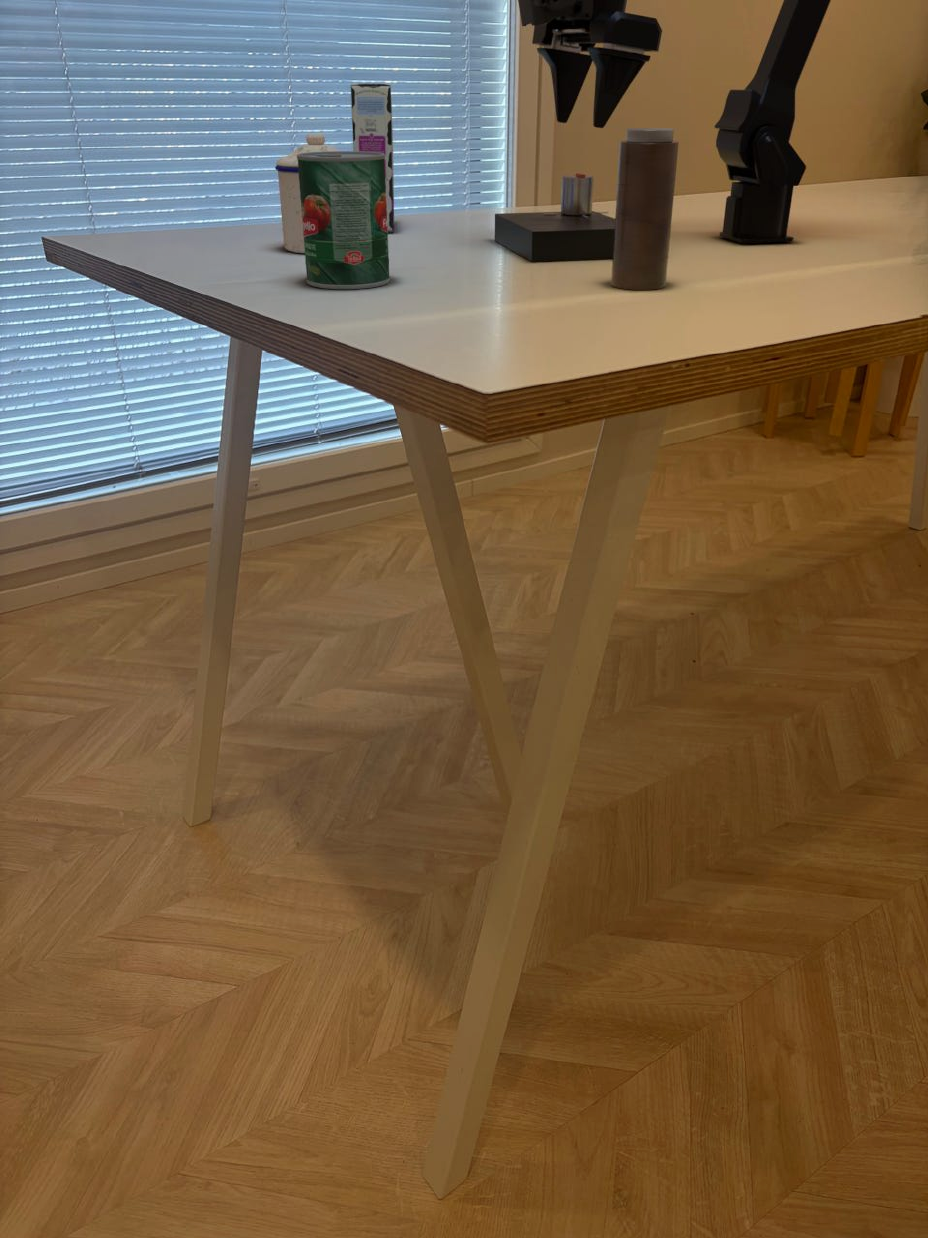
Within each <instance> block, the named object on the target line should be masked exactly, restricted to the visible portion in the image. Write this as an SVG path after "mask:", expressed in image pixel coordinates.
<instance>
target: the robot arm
mask: <svg viewBox="0 0 928 1238" xmlns="http://www.w3.org/2000/svg"><path fill="white" fill-rule="evenodd" d="M831 1H832V0H783V1H782V5H781V7H780V10H779V12H778V15H777V17H776V19H775V23H774V25H773V27H772V31H771V33H770V35H769V38H768V41H767V43H766V46H765V48H764V51H763V54H762V56H761V59H760V61H759V63H758V67H757V69H756V71H755V74H754V76H753V78H752V79H751V80H750V82H749V83H748V84H747V86H746V87H745V88H744V89H730V90H729V92H728V94H727V96H726V99H725V102H724V103H725V104H724V107H723V110H722V114H721V115H720V118H719V119H718V121H717V122H716V123H715V125H714V128H715V129H717V130H718V131H717V135H716V139H715V147H716V149H717V152H718V155H719V157H720V159H721V160H722V161H723V162H724V163H725V166H726V172H727V175H728V180H729V181H732V182H731V187H730V195H728V196H726V199H725V205H724V206H725V207H724V217H723V225H722V231H720V232H719V237H720V238H724V239H726V240H727V239H728V240H730V241H734V242H737V243H740V244H762V243H764V244H765V243H789V242H791V243H792V242H794V236H789V235H788V228H789V220H790V215H791V208H792V201H793V194H794V187H798V186H799V185H800V183H801V181H802V179H803V177H804V174H805V173H806V169H807V165H806V164H805V162H804V160H803V159H802V158H801V157H800V156H799V154H798V153H797V151H796V150H795V149H794V147H793V146H792V144H791V143H790V140H791V135H792V132H793V128H794V124H795V119H796V92H797V91H796V90H797V86H798V83H799V81H800V79H801V76H802V73H803V70H804V68H805V65H806V64H807V61H808V58H809V55H810V54H811V51H812V49H813V46H814V43H815V41H816V38H817V36H818V34H819V31H820V30H821V29H820V28H821V26H822V24H823V20H824V18H825V17H826V16H825V15H826V14H827V11H828V8H829V6H830V3H831ZM517 3H518V10H519V17H520V22H521V27H526V26H528V25H531V26H532V27H533V35H532V42H531V44H532V45H535V46H542V47H536V51H537V53H538V54H539V55H541V56H542V58H543V59H544V61H545V62H546V63H547V65H548V66H549V69H550V74H551V81H552V89H553V100H554V107H555V118H556V121H557V123H560V124H561V123H562V124H566V123H568V121H569V119H570V116H571V114H572V112H573V110H574V107H575V105H576V103H577V100H578V98H579V95H580V93H581V91H582V88H583V86H584V83H585V80H586V78H587V76H588V74H589V72H590V68H591V66H592V64H594V66H595V83H594V95H593V96H594V97H593V115H592V122H593V123H592V125H593V128H598V129H603V128H605V126H606V124H608V122H609V120H610V118H611V116H612V115H613V113H614V112H615V110H616V108H617V107H618V105H619V104H620V102H621V100H622V98H623V97H624V95H625V94H626V93H627V91H628V89H629V87H630V86H631V85H632V83H633V82H634V80H635V79H636V77H637V76H638V74H639V73H640V71H641V70H642V68H643V67H644V66H645V64H646V63H647V62H650V61H651V55H649V54H645V53H658V52H659V50H660V45H661V39H662V34H663V29H662V27H661V25H660V23H659V21H658V19H657V18H656V17H651V16H647V15H646V16H645V15H640V14H634V13H630V12H626V9H627V3H628V0H517ZM596 44H602V47H599V46H596ZM585 53H588V54H585Z"/></svg>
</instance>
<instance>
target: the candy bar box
mask: <svg viewBox="0 0 928 1238" xmlns="http://www.w3.org/2000/svg"><path fill="white" fill-rule="evenodd" d="M349 88H350V105H351V106H350V107H351V110H350V111H351V125H352V126H351V130H352V151H363V152H379V153H384V154H385V175H386V179H385V182H386V203H387V223H388V225H387V230H388V233H394V231H395V191H394V189H395V183H394V181H395V180H394V176H395V175H394V173H395V172H394V135H393V103H392V86H391V84H387V83H352V84H350V87H349Z"/></svg>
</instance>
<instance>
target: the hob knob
mask: <svg viewBox="0 0 928 1238" xmlns="http://www.w3.org/2000/svg"><path fill="white" fill-rule="evenodd" d="M594 182H595V177H594V175H591V174H590V175H589V174H585V173H581V172H579V173H575V174H567V175H562V177H561V196H560V212H561V214H563V215H571V216H582V215H590V214H592V211H593V198H594Z"/></svg>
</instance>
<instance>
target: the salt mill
mask: <svg viewBox="0 0 928 1238" xmlns="http://www.w3.org/2000/svg"><path fill="white" fill-rule="evenodd" d="M674 132H675V130H674V128H667V127H633V128H627V129H626V135H625V136H626V138H625V140H622V141H620V142H619V153H618V154H619V156H618V170H617V171H618V173H617V187H616V201H615V202H616V203H615V217H614V219H615V231H614V246H613V259H612V264H611V279H610V285H611V287H613V288H617V289H622V290H630V291H653V290H659V289H663V288H665V287H666V285H667V274H668V263H669V253H670V243H671V230H672V220H673V219H672V218H673V208H674V196H675V185H676V177H677V176H676V175H677V164H678V163H677V162H678V151H679V141H677V140H676V141H675V140H674Z"/></svg>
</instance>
